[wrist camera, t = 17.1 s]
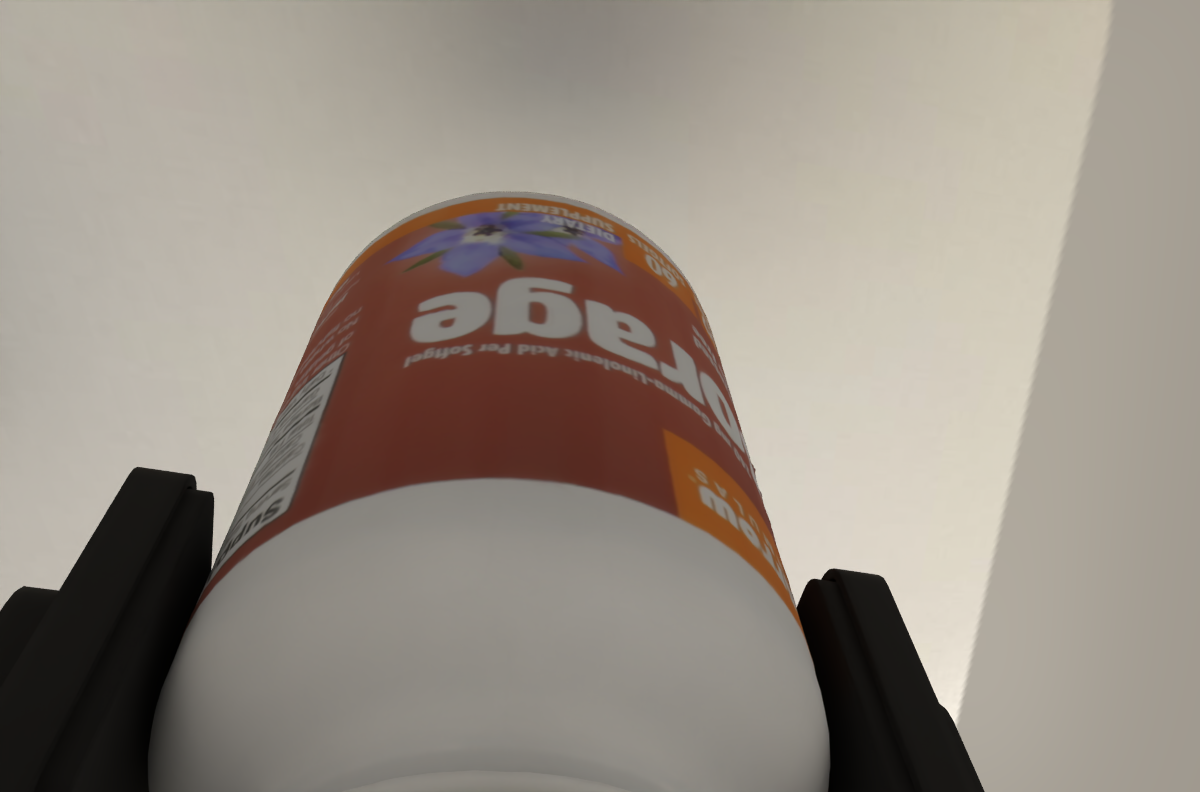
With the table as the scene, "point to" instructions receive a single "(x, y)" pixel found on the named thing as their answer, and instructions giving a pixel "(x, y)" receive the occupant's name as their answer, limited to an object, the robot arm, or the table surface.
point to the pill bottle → (499, 540)
